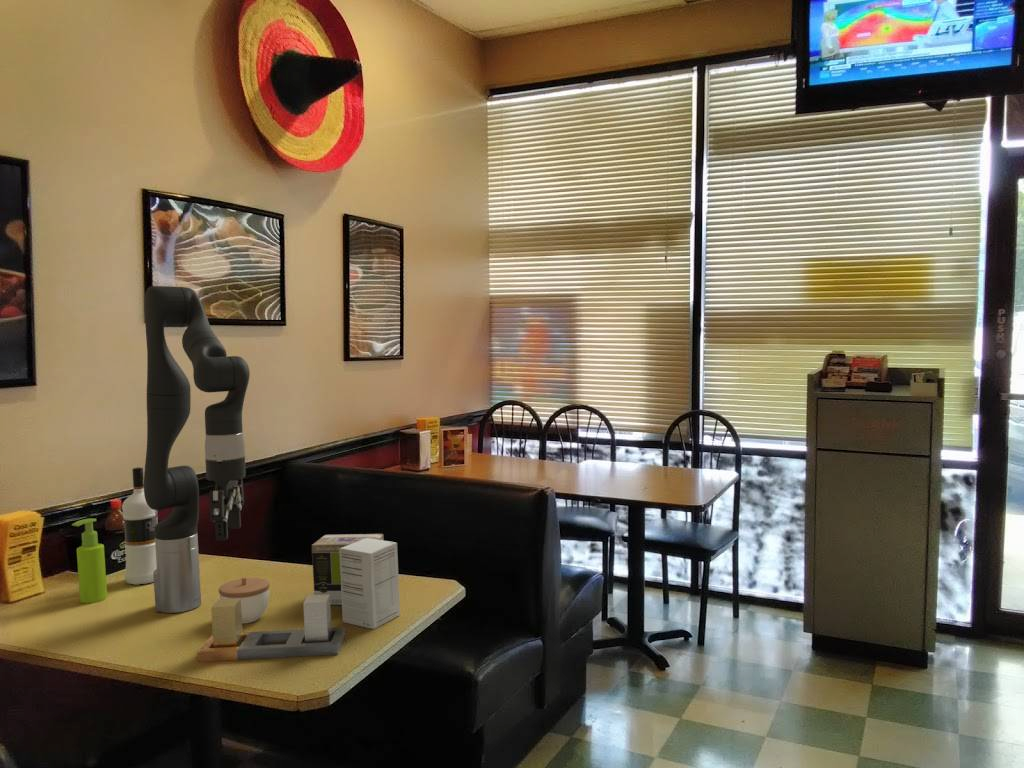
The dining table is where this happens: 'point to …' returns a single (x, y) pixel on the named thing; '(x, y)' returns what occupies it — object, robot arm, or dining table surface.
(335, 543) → the tea box
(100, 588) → the soap dispenser
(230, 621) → the beige rectangular block
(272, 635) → the grey flat frame
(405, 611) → the dining table surface
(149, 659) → the dining table surface
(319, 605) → the gray square beam
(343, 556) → the supplement box
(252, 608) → the lidded jar
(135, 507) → the vodka
